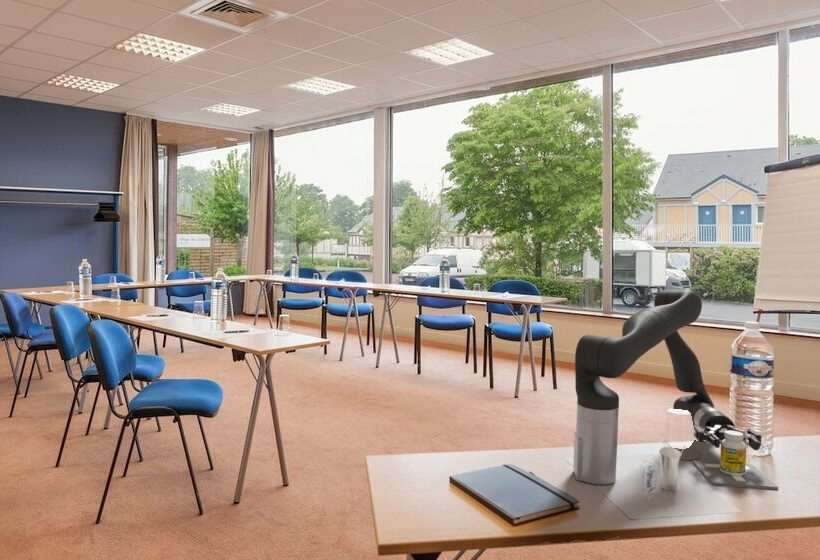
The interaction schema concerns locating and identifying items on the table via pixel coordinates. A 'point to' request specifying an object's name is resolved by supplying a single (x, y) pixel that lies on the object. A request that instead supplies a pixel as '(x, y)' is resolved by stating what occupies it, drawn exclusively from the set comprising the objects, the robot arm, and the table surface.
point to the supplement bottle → (733, 454)
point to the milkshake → (669, 467)
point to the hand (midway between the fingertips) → (737, 445)
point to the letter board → (749, 479)
